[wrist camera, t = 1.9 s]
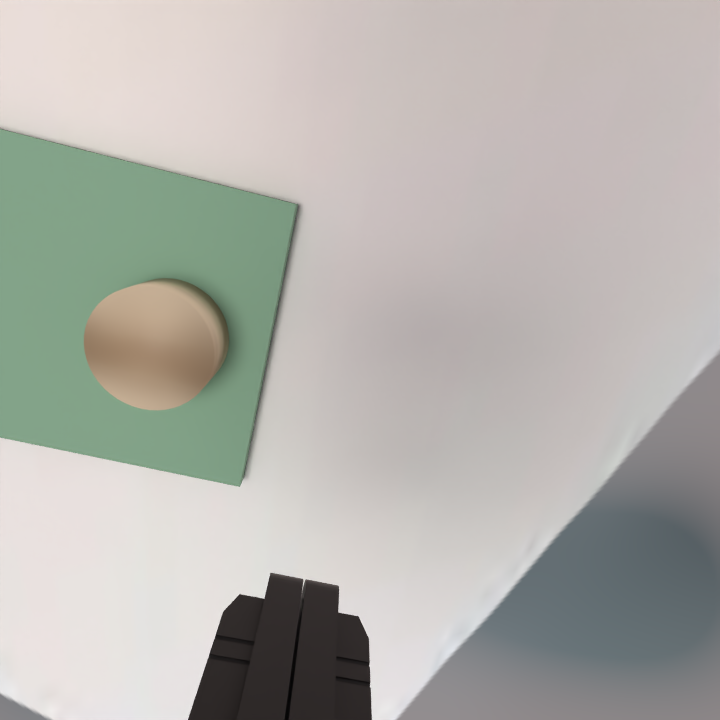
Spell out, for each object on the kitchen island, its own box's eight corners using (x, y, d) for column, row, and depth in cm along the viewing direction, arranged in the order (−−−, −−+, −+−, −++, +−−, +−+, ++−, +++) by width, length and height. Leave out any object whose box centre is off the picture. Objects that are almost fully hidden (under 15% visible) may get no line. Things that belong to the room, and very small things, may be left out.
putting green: (-249, 65, 23) (-275, 59, 22) (298, 204, 25) (296, 204, 24) (-222, 381, 28) (-242, 387, 27) (243, 477, 30) (239, 486, 29)
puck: (120, 265, 25) (90, 271, 22) (238, 293, 26) (223, 304, 23) (107, 375, 27) (77, 394, 24) (218, 400, 27) (202, 422, 24)
